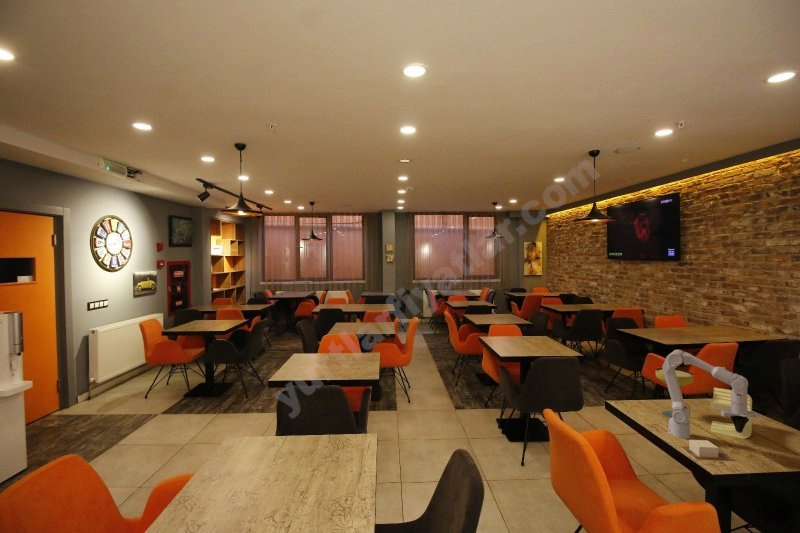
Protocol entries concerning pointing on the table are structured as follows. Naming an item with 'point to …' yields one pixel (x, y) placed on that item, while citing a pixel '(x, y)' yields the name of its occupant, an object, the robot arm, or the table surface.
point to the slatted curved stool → (724, 403)
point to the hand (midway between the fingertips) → (738, 431)
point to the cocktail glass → (682, 378)
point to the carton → (703, 448)
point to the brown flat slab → (721, 457)
